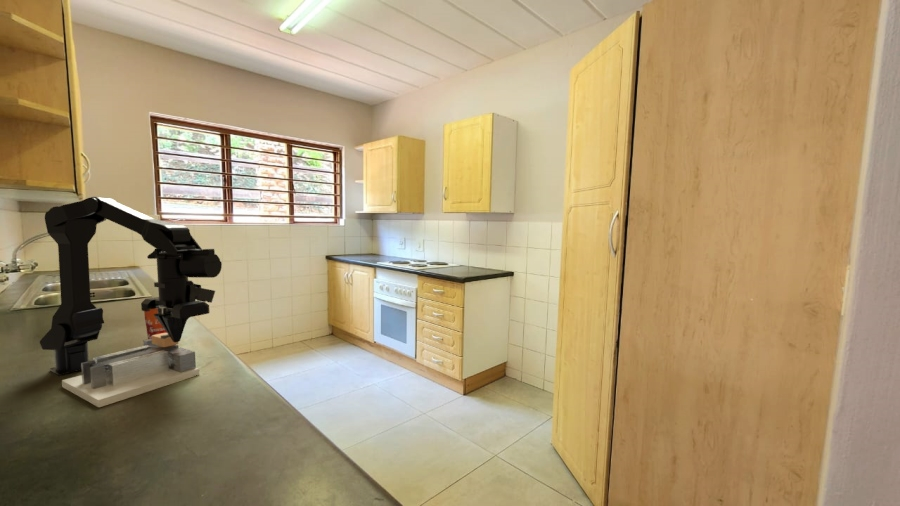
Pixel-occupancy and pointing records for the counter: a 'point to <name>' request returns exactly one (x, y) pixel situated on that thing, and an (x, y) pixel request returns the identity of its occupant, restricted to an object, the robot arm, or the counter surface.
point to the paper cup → (153, 323)
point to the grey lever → (136, 355)
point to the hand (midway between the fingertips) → (176, 341)
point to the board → (124, 387)
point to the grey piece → (136, 365)
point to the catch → (163, 340)
